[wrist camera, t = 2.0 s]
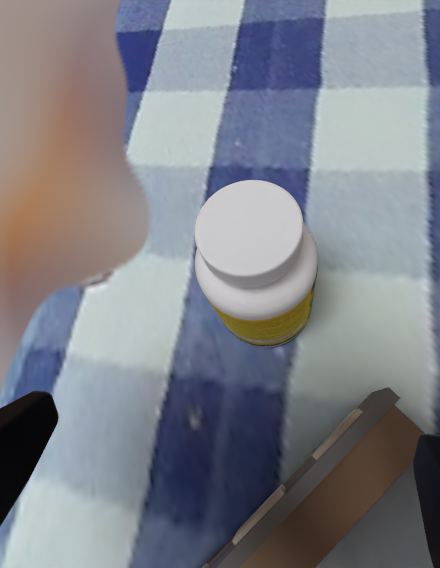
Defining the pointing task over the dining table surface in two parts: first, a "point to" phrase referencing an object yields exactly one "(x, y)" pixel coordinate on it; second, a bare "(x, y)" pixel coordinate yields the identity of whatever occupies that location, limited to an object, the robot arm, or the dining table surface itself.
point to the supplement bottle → (256, 262)
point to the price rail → (327, 490)
